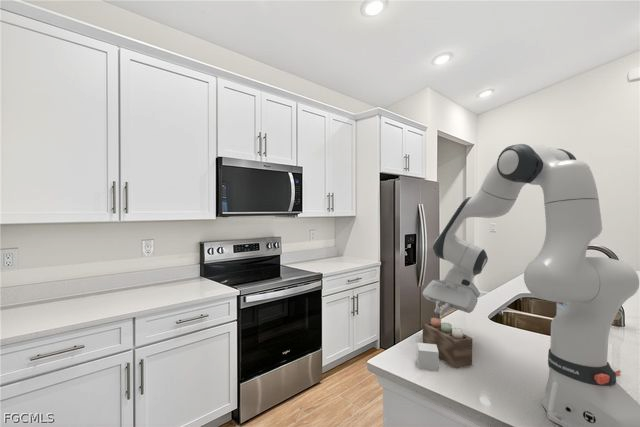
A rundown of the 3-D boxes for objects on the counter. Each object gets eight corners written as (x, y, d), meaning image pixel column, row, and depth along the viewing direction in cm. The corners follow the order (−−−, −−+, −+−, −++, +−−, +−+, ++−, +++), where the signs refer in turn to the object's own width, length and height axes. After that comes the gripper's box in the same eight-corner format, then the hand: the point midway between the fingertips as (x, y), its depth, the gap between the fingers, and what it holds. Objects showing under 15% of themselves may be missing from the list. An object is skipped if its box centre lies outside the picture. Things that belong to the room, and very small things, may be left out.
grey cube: (417, 360, 107) (417, 342, 107) (436, 362, 105) (436, 344, 105) (418, 368, 101) (418, 350, 101) (438, 371, 100) (438, 352, 99)
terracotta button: (442, 327, 113) (443, 320, 113) (435, 328, 112) (435, 321, 112) (436, 323, 117) (436, 317, 117) (428, 324, 115) (428, 318, 115)
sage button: (453, 332, 108) (453, 325, 108) (445, 333, 107) (445, 326, 107) (446, 328, 112) (446, 322, 112) (438, 330, 111) (438, 323, 110)
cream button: (465, 338, 104) (465, 331, 104) (457, 339, 102) (457, 332, 102) (457, 334, 107) (457, 327, 107) (449, 335, 106) (449, 328, 106)
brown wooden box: (472, 365, 103) (472, 338, 103) (455, 368, 101) (455, 341, 101) (437, 345, 118) (438, 321, 118) (422, 347, 116) (422, 323, 116)
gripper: (430, 273, 128) (412, 301, 123) (477, 284, 110) (458, 317, 105) (437, 283, 130) (420, 310, 125) (484, 295, 112) (466, 327, 108)
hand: (438, 313), depth 115 cm, fingers closed
